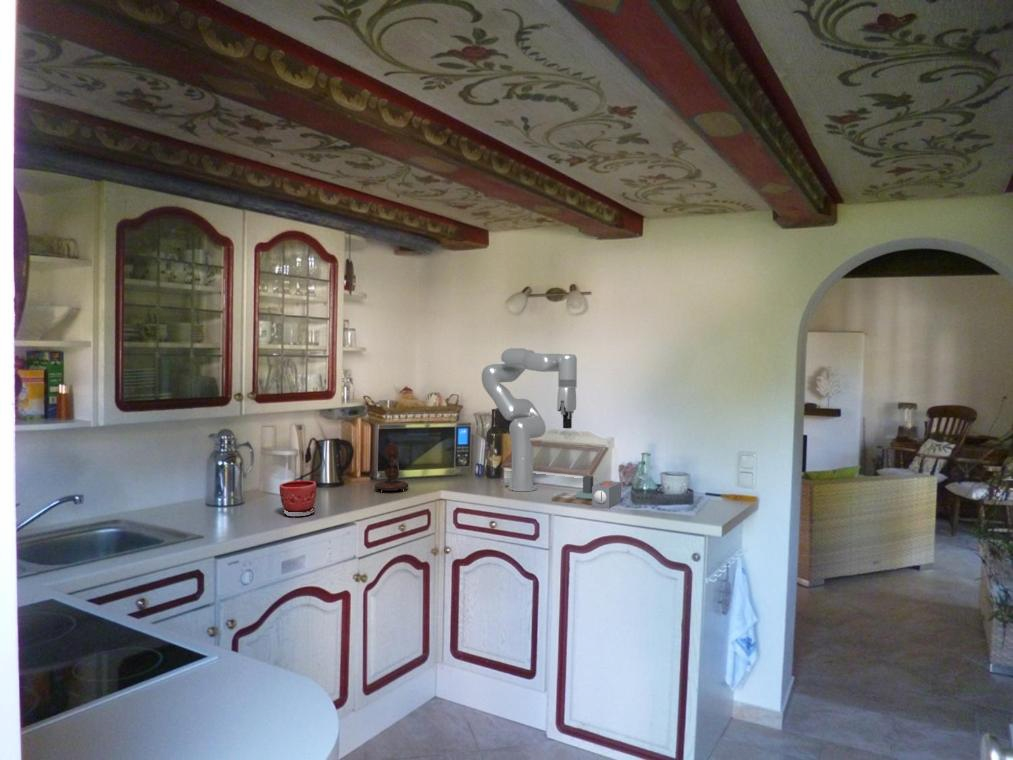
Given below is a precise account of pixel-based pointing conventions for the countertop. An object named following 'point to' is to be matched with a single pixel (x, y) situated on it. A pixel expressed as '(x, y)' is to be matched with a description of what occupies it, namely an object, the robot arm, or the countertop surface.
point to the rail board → (571, 498)
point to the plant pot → (298, 495)
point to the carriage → (586, 488)
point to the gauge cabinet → (606, 494)
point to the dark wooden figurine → (391, 471)
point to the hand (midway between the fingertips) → (567, 428)
